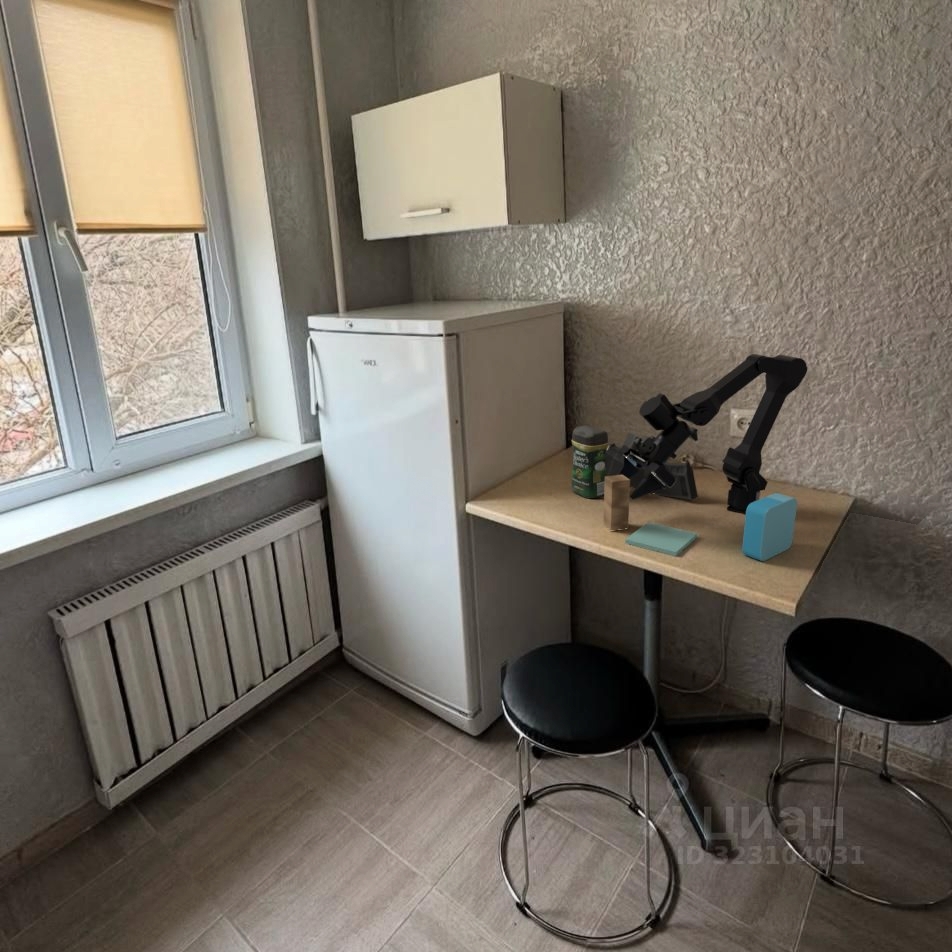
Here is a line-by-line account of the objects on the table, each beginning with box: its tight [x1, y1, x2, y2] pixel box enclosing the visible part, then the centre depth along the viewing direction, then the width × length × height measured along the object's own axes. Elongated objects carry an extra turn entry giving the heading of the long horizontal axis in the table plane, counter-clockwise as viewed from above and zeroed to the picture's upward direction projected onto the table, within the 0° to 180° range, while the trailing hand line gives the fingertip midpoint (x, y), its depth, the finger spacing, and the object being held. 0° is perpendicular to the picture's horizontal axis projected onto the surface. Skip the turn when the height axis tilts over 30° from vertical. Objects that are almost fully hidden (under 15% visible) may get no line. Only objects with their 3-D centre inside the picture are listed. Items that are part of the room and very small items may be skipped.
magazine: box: [606, 442, 699, 500], centre depth 179 cm, size 17×3×30 cm
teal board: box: [624, 521, 698, 557], centre depth 150 cm, size 12×12×1 cm
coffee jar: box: [570, 424, 609, 499], centre depth 177 cm, size 10×8×19 cm
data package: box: [741, 492, 798, 562], centre depth 140 cm, size 12×4×12 cm, turn 125°
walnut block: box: [603, 475, 631, 531], centre depth 156 cm, size 4×4×12 cm
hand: (622, 491), depth 155 cm, fingers open, 9 cm apart
